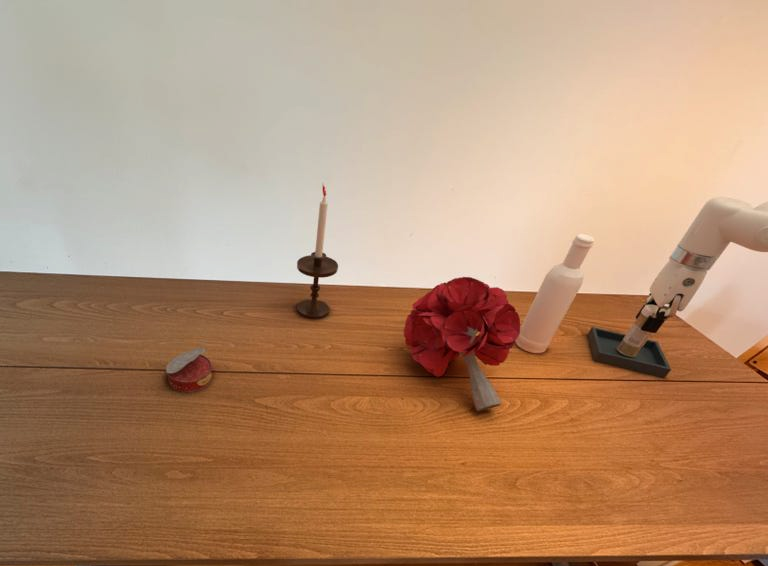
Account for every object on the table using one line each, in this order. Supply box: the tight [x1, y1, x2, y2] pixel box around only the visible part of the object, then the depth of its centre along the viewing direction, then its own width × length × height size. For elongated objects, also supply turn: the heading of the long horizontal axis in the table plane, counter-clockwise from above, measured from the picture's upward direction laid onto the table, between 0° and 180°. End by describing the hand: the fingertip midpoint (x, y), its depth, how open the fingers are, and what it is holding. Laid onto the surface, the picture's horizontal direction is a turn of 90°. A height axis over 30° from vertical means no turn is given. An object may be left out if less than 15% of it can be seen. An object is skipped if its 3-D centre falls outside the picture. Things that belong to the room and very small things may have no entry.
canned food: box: [165, 347, 213, 393], centre depth 94 cm, size 11×10×10 cm
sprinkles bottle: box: [617, 304, 667, 357], centre depth 105 cm, size 5×5×13 cm
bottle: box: [515, 233, 595, 354], centre depth 102 cm, size 8×8×30 cm
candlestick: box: [296, 184, 339, 320], centre depth 109 cm, size 11×11×35 cm
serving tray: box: [586, 326, 672, 379], centre depth 109 cm, size 16×13×3 cm
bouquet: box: [403, 276, 521, 412], centre depth 94 cm, size 22×24×30 cm
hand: (645, 324), depth 104 cm, fingers closed on sprinkles bottle, 4 cm apart
